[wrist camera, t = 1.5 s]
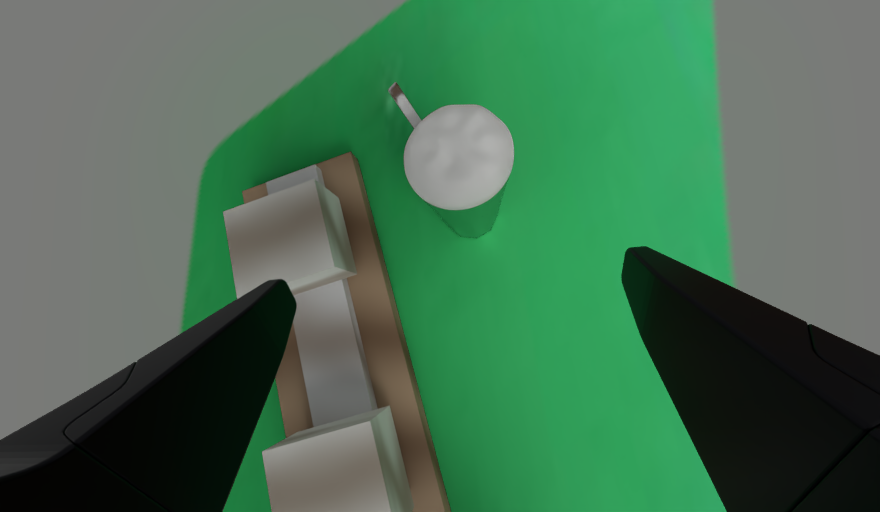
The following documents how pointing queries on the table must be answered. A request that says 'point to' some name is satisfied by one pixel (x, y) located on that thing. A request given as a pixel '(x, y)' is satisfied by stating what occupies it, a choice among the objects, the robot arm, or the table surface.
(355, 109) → the table surface
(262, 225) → the wooden board with pads
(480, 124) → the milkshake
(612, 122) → the table surface
